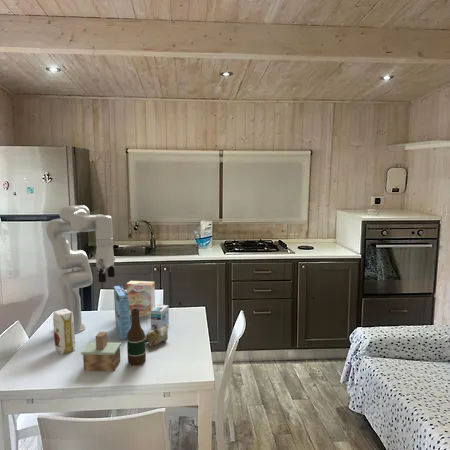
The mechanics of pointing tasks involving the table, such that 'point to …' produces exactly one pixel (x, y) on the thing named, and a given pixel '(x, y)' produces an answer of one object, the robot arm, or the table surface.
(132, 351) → the beer bottle
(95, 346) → the lid
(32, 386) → the table surface
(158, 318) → the light bulb box
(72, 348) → the juice carton
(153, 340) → the ceramic sculpture
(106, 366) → the crate
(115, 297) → the gum box
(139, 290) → the coffeecake box
